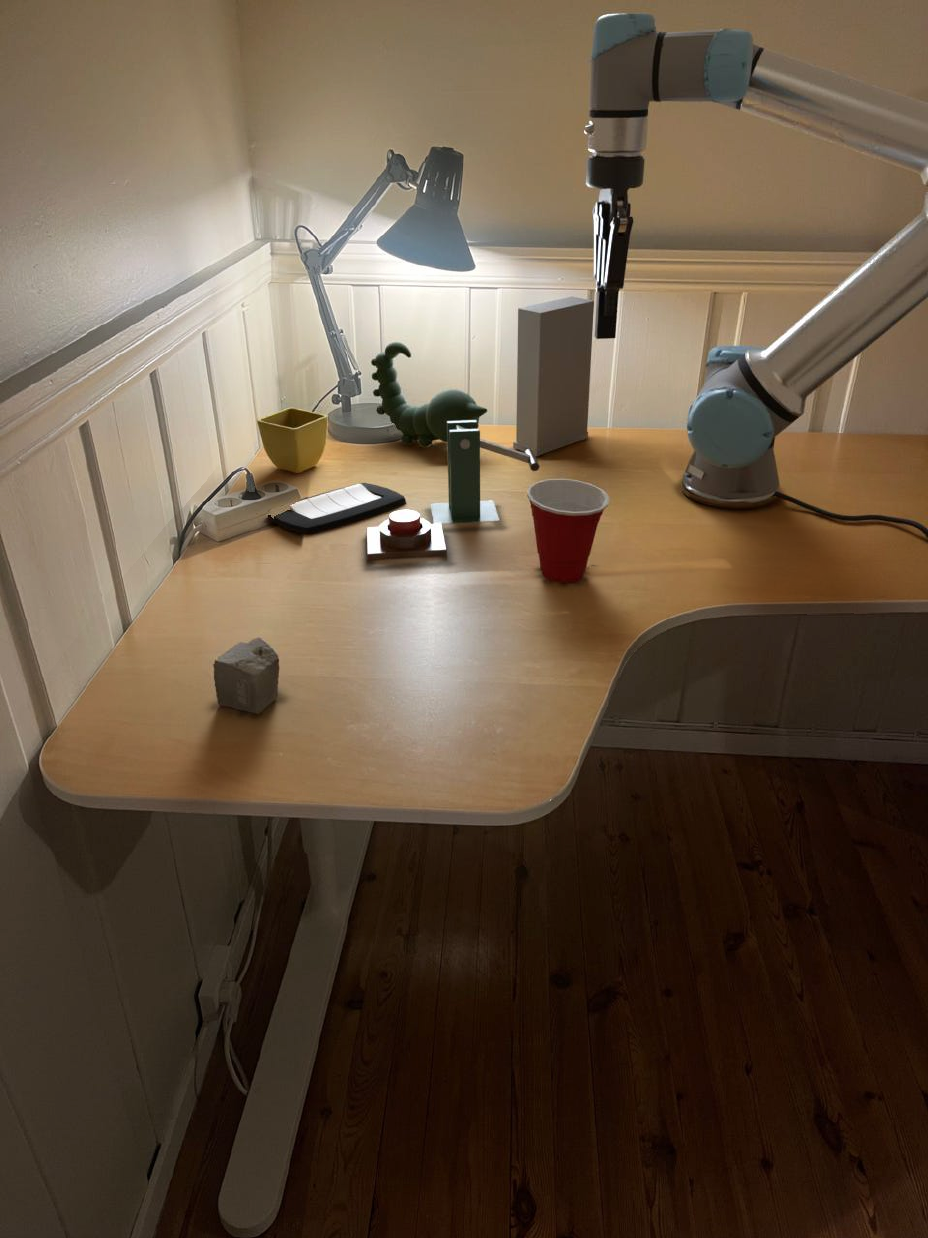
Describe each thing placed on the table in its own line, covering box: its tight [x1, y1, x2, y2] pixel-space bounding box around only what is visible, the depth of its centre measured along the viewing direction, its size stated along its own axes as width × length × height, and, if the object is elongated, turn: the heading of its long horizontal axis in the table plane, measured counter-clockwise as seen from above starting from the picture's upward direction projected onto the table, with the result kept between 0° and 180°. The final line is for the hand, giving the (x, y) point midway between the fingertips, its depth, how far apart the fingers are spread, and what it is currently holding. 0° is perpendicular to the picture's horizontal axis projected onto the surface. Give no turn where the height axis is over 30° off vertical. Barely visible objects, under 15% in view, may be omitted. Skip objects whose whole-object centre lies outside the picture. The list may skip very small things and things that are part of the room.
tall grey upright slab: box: [512, 296, 595, 457], centre depth 167 cm, size 14×6×25 cm, turn 133°
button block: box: [366, 517, 448, 562], centre depth 134 cm, size 11×9×4 cm
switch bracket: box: [429, 420, 501, 525], centre depth 141 cm, size 10×8×15 cm
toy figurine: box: [370, 341, 488, 448], centre depth 170 cm, size 9×19×25 cm
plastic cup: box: [526, 478, 610, 584], centre depth 125 cm, size 11×11×12 cm
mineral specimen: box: [212, 637, 280, 715], centre depth 100 cm, size 7×9×8 cm
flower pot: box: [256, 407, 328, 474], centre depth 163 cm, size 9×9×9 cm
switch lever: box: [455, 425, 540, 472], centre depth 140 cm, size 13×6×2 cm, turn 95°
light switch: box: [267, 482, 407, 535], centre depth 147 cm, size 20×3×14 cm
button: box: [388, 509, 421, 534], centre depth 133 cm, size 4×4×2 cm
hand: (604, 337), depth 135 cm, fingers closed
